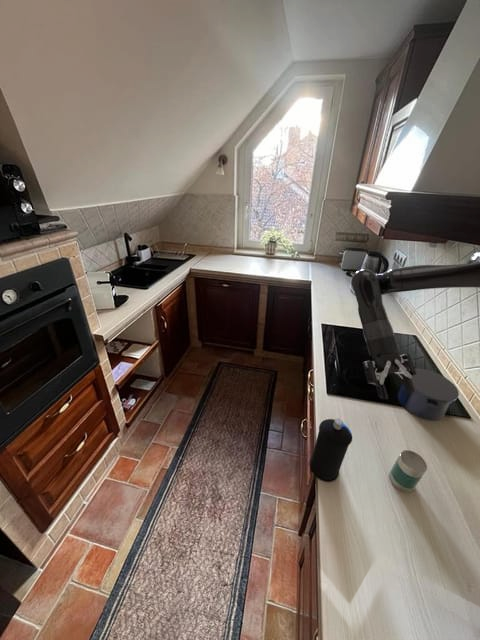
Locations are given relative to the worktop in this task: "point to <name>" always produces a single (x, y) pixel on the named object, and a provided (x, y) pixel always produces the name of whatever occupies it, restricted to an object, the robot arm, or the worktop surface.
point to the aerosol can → (330, 449)
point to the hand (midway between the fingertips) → (397, 395)
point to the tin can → (407, 471)
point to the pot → (428, 395)
